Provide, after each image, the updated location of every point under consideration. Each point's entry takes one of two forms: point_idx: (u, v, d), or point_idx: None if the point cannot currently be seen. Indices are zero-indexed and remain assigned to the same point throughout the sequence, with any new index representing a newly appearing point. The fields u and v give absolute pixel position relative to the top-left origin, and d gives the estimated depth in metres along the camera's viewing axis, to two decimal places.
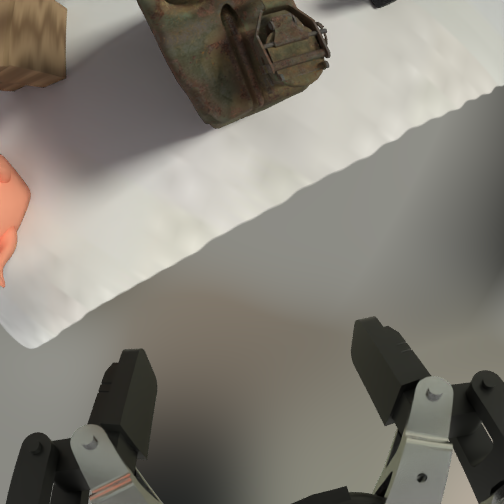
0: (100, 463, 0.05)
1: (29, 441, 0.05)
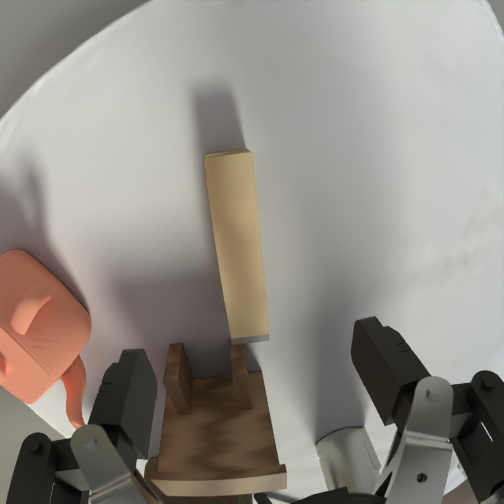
0: (100, 463, 0.05)
1: (30, 441, 0.05)
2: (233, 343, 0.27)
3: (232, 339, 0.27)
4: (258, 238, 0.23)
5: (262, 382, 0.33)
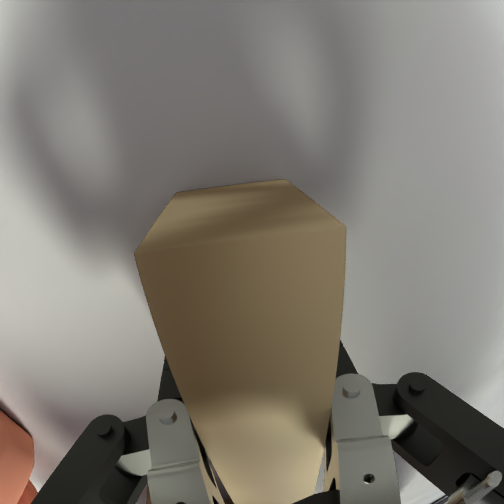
0: (186, 435, 0.06)
1: (100, 423, 0.06)
2: None
3: None
4: (320, 441, 0.07)
5: None
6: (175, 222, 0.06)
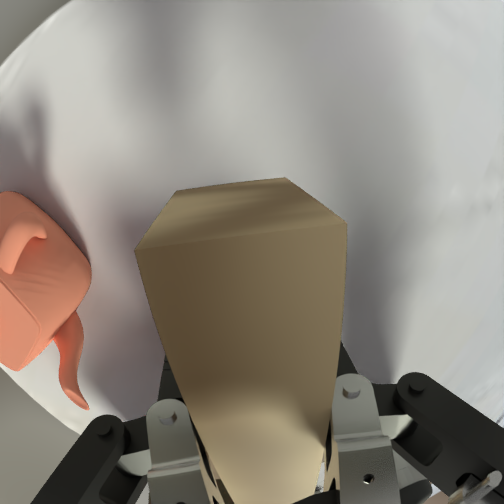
0: (186, 435, 0.06)
1: (100, 423, 0.06)
2: None
3: None
4: (321, 440, 0.07)
5: None
6: (175, 219, 0.06)
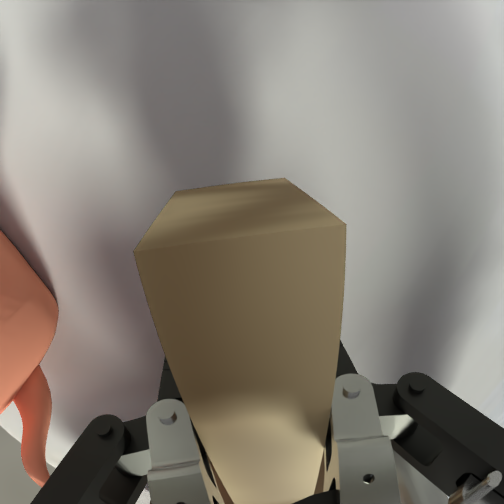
0: (186, 435, 0.06)
1: (100, 423, 0.06)
2: None
3: None
4: (320, 441, 0.07)
5: None
6: (175, 220, 0.06)
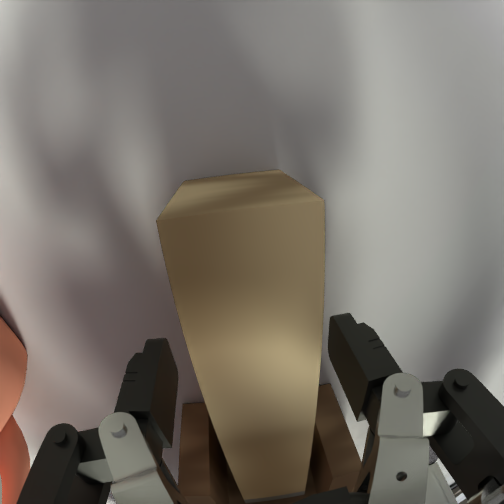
0: (132, 450, 0.06)
1: (55, 432, 0.06)
2: (247, 502, 0.12)
3: (246, 500, 0.12)
4: (312, 404, 0.09)
5: None
6: (187, 200, 0.07)
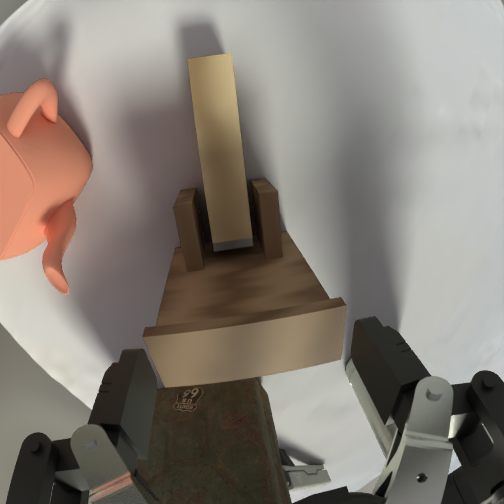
0: (100, 463, 0.05)
1: (30, 441, 0.05)
2: (215, 249, 0.26)
3: (214, 244, 0.26)
4: (238, 130, 0.22)
5: (289, 238, 0.30)
6: None
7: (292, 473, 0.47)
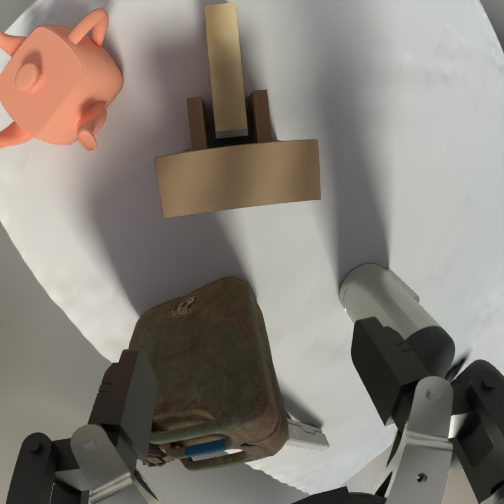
0: (100, 463, 0.05)
1: (30, 441, 0.05)
2: (217, 136, 0.31)
3: (216, 132, 0.30)
4: (238, 50, 0.27)
5: None
6: None
7: (288, 424, 0.50)
